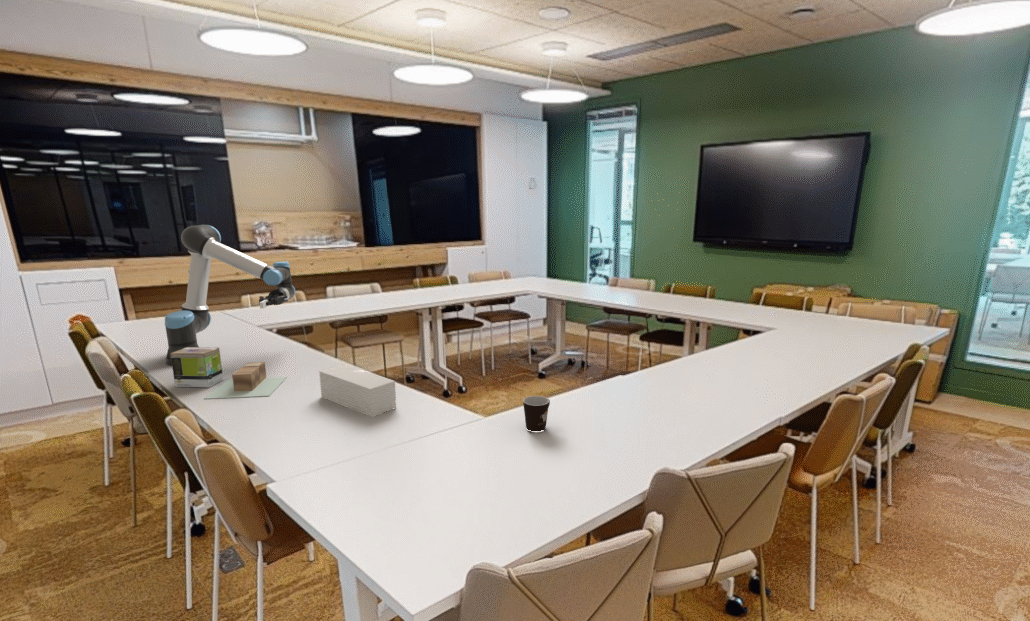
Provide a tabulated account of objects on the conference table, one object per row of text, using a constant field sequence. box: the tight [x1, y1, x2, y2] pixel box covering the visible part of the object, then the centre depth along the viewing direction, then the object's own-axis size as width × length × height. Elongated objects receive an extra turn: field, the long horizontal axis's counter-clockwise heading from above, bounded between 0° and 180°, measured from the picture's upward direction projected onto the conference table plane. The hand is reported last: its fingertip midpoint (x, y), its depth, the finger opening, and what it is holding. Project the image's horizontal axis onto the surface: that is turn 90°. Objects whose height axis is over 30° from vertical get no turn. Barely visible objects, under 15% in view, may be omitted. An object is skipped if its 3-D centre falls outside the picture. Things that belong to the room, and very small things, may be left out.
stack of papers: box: [318, 364, 397, 418], centre depth 196 cm, size 32×11×11 cm, turn 52°
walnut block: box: [232, 361, 267, 391], centre depth 215 cm, size 7×7×16 cm
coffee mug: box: [522, 395, 551, 431], centre depth 173 cm, size 12×9×10 cm
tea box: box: [170, 346, 224, 389], centre depth 216 cm, size 15×10×15 cm, turn 84°
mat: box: [203, 376, 288, 400], centre depth 212 cm, size 22×24×1 cm
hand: (261, 305), depth 230 cm, fingers closed
